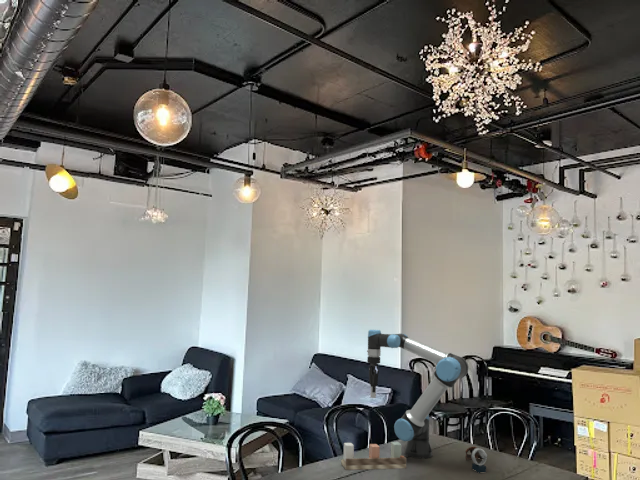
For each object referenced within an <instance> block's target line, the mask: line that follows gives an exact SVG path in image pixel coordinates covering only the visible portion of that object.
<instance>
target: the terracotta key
mask: <svg viewBox="0 0 640 480" xmlns="http://www.w3.org/2000/svg"><path fill="white" fill-rule="evenodd" d="M368 448H369V449H368V452H369V453H368V458H380V451H381V450H380V446H379V445H378V444H377V443H370V444H369V446H368Z"/></svg>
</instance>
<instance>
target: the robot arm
mask: <svg viewBox="0 0 640 480" xmlns="http://www.w3.org/2000/svg"><path fill="white" fill-rule="evenodd" d="M381 348H391V349H398V348H401V349H403V350H405V351H408V352H410V353H412V354H414V355H417V356H418V357H421V358H423V359H425V360H427V361H430V362H432V363H434V364H436V366H435V370H434V371H433V378H432V380H431V381H430V383H429V384H428V385H427V387H426V388H425V390H424V391H423V392H422V394H421V395H420V396H419V398H417V401H416V402H415V404H414V405H413V406H412V408H411V409H408V410H407V409H406V411H405V412H404V413H403V415H402V416H401V418H398V419H397V420H395V423H394V426H393V428H394V430H393V431H394V433H395V436H396V437H397V438H398V439H399V440H400V441H403V442H406V445H405V448H404V454H405V455H406V456H408V457H410V458H414V459H428V458H432V457H433V450H432V446H431V443H430V415H429V414H430V413H431V411H432V410H433V409H434V407H435V406H436V405H437V403H438V402H439V401H440V399H441V398H442V396H444V394H445V393H446V391H447V390H448V389H451V388H453V387H454V386H455V384H456V383H457V382H458V380H459V379H462V378H465V377H466V376H467V374H468V373H469V364H468V362H467V360H466V359H465V358H464V357H461V356H459V355H457V354H453V353H452V352H449V353H447V352H444V351H442V350H440V349H437V348H436V347H435V348H434V347H433V346H430V345H429V344H426V343H423V342H421V341H418V340H416V339H414V338H411V337H410V336H409V337H408V335H407V334H405V333H391V334H390V333H382V331H381V330H380V329H368V332H367V350H366V352H367V359H366V360H367V363H368V364H369V366H368V368H367V369H368V376H369V378H368V381H369V382H368V383H369V385H370V399H376V396H377V394H376V393H377V392H376V391H377V387H378V382H379V374H380V369H378V368H379V367H378V364H381V355H382V354H381V352H382V351H381Z"/></svg>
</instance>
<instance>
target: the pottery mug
mask: <svg viewBox="0 0 640 480" xmlns="http://www.w3.org/2000/svg"><path fill="white" fill-rule="evenodd" d="M475 448H478V447H477V446H469V447H468V448H466V450H465V456H464V457H465V461H468V460H470V461H471V460H472V457H471V456H472V452H473V450H474V449H475ZM478 451H479V450H478ZM478 451H477V452H476V453H475V459H476V460H482V459H483V458H482V457H481V455H480V454H479V452H478ZM478 458H480V459H478ZM472 461H473V460H472Z"/></svg>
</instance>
